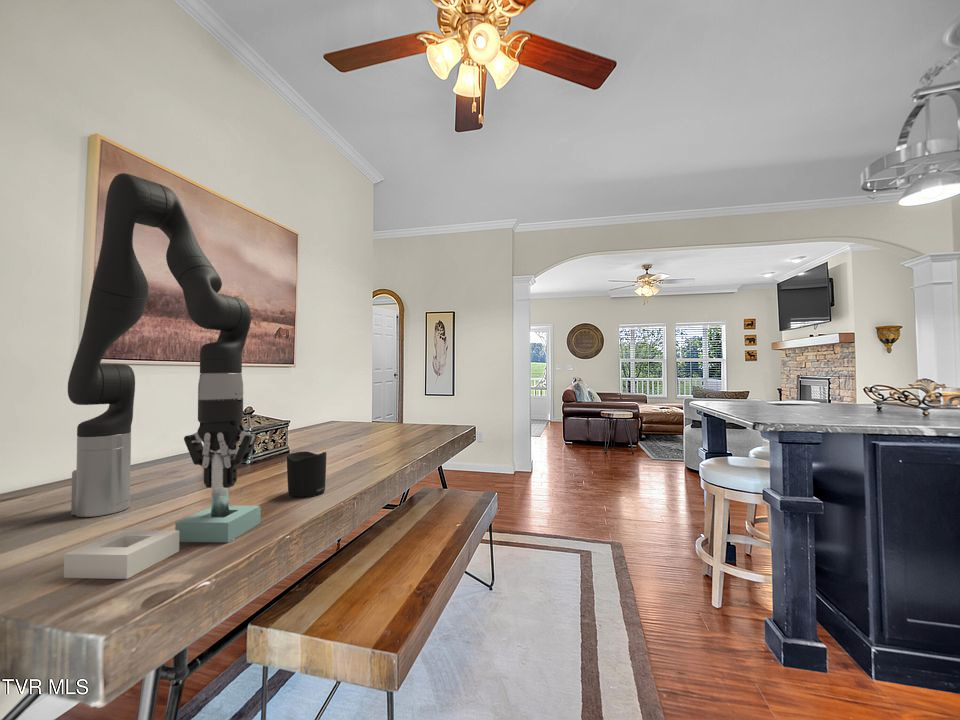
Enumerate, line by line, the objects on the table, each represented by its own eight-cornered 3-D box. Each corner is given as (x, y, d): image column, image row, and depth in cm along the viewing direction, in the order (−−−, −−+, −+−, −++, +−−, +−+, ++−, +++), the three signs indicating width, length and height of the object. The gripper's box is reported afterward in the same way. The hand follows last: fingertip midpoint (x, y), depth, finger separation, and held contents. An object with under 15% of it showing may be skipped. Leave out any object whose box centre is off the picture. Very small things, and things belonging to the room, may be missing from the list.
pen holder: (291, 501, 102) (291, 458, 102) (282, 492, 109) (282, 453, 110) (331, 494, 107) (331, 454, 108) (320, 486, 115) (320, 449, 115)
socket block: (63, 577, 64) (64, 554, 64) (124, 550, 74) (124, 529, 74) (126, 578, 63) (127, 554, 63) (179, 551, 73) (179, 530, 73)
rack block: (175, 541, 77) (175, 522, 77) (213, 522, 87) (213, 505, 87) (228, 542, 76) (228, 522, 77) (260, 523, 86) (260, 505, 87)
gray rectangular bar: (207, 518, 80) (207, 454, 81) (217, 513, 83) (218, 451, 84) (222, 518, 80) (222, 454, 81) (232, 513, 83) (232, 451, 84)
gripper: (171, 398, 79) (170, 492, 79) (243, 397, 79) (243, 492, 78) (200, 396, 87) (199, 482, 86) (266, 395, 86) (266, 482, 85)
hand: (220, 486), depth 82 cm, fingers closed on gray rectangular bar, 3 cm apart
